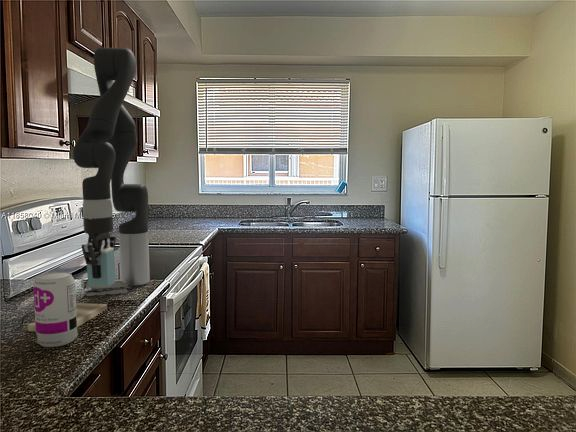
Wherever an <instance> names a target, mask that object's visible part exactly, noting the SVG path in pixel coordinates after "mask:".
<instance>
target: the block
mask: <svg viewBox="0 0 576 432" xmlns="http://www.w3.org/2000/svg"><path fill="white" fill-rule="evenodd" d="M94 253H95V254H98V253H99V252H94ZM95 257H96V260H97V256H95ZM89 259H90V257H89ZM100 265H101V278H99V279H97V278H93V276H92V265H90V264H86V272H87V273H86V274H87V277H86V278H87V286H90V285H92V286H110V285H111V284H113V283H115V282H116V281H117V280H116V263H115V251H114V248H105V249H103V250H102V256H101V262H100Z"/></svg>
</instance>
